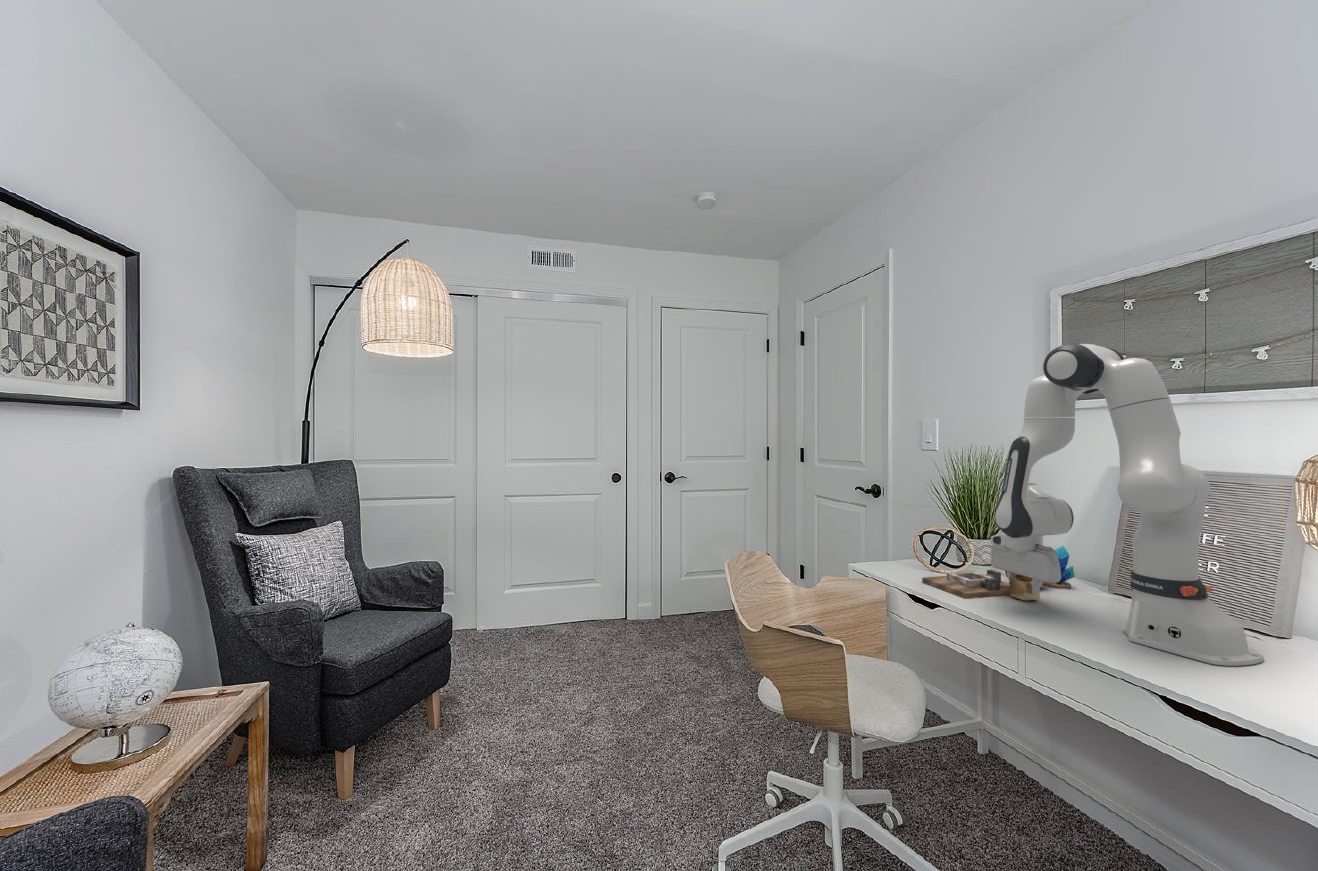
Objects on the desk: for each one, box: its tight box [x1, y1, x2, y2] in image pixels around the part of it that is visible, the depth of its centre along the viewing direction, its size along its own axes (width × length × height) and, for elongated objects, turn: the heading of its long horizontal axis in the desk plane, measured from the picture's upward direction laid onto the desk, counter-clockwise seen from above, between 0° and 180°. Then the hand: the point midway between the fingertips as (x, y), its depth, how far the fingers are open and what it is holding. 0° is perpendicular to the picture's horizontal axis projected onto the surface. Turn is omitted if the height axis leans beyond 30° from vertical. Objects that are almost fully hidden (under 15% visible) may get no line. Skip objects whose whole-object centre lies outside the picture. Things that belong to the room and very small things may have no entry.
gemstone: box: [1042, 545, 1075, 589], centre depth 172 cm, size 7×9×12 cm
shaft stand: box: [921, 569, 1010, 599], centre depth 171 cm, size 18×20×4 cm
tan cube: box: [1008, 577, 1041, 601], centre depth 159 cm, size 5×5×5 cm
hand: (1024, 591), depth 159 cm, fingers closed on tan cube, 5 cm apart
